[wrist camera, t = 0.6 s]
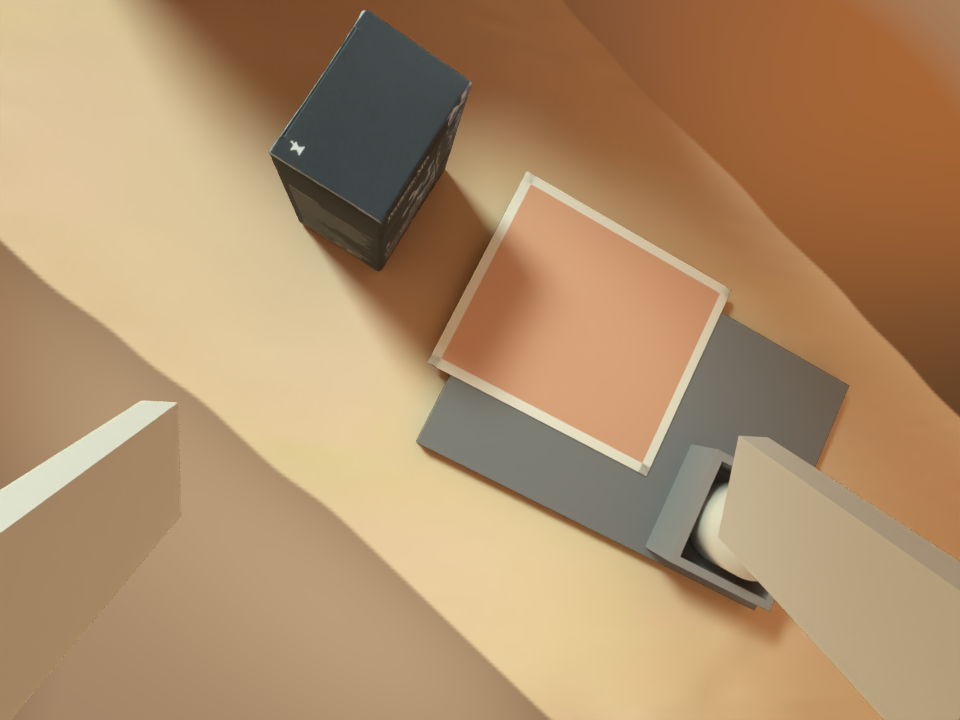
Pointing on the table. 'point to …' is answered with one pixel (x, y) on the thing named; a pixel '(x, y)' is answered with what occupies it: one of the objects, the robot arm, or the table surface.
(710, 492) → the button
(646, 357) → the grey board
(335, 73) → the box
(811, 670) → the table surface
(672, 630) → the table surface
